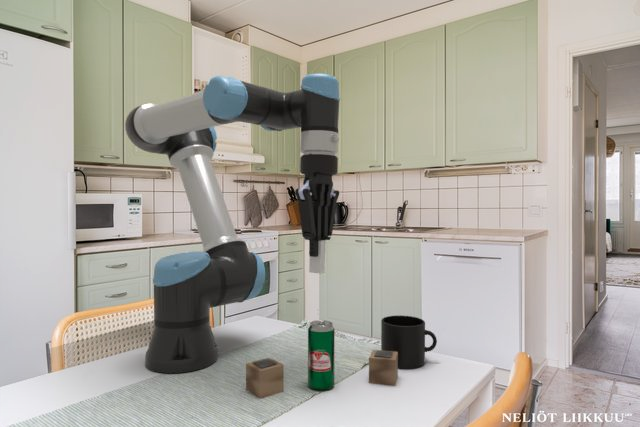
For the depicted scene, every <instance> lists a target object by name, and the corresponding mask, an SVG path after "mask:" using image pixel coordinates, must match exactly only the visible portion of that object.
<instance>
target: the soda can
mask: <svg viewBox="0 0 640 427" xmlns="http://www.w3.org/2000/svg"><path fill="white" fill-rule="evenodd" d="M333 325H334V324H333V322H332V321H330V320H323V319H319V320H313V321H310V322H309V326H308V328H307V385H308V386H309V387H310V388H311V390H315V391H327V390H330V389H332V388H333V386H334V385H335V365H336V364H335V357H336V356H335V355H336V354H335V350H336V349H335V340H336V339H335V337H336V335H335V333H336V332H335V330H336V329H335V327H334V326H333Z"/></svg>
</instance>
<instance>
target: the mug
mask: <svg viewBox="0 0 640 427" xmlns="http://www.w3.org/2000/svg"><path fill="white" fill-rule="evenodd" d="M380 323H381V325H380V326H381V328H380V330H381V331H380V332H381V334H380V339H381V340H380V341H381V343H380V348H381V350H383V351H394V352H398V369H402V370H411V369H418V368H421V367H423V366H424V364H425V362H426V353H427V352H431V351H433V350H434V349H435V348H436V346H437V342H438V340H437V336H436V335H435V333H434V332H432V331H431V330H428V329H426V321H425V320H424V319H422V318H420V317H416V316H412V315H401V314H400V315H399V314H398V315H389V316H384V317H383V318H381V322H380ZM426 336H430V337H431V338H432V344H431V345H430V346H429V347H427V346H426Z"/></svg>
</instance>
